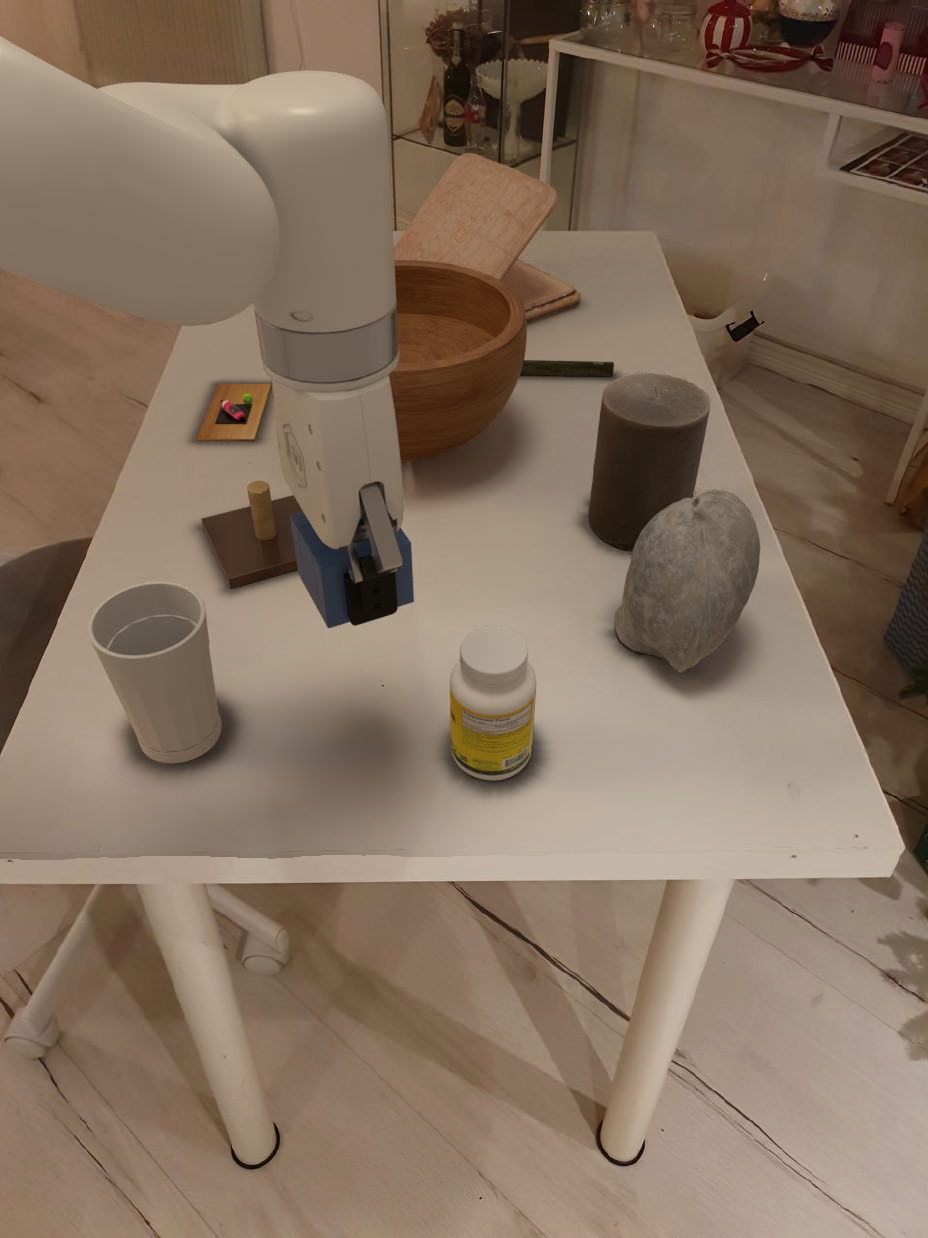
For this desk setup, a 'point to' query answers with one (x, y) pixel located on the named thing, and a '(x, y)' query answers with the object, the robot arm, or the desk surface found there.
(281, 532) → the dowel stand
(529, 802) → the desk surface
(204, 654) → the cup
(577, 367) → the rod
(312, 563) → the collar block
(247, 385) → the board
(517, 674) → the pill bottle
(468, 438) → the bowl
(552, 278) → the case
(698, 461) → the pillar candle
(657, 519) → the decorative stone
